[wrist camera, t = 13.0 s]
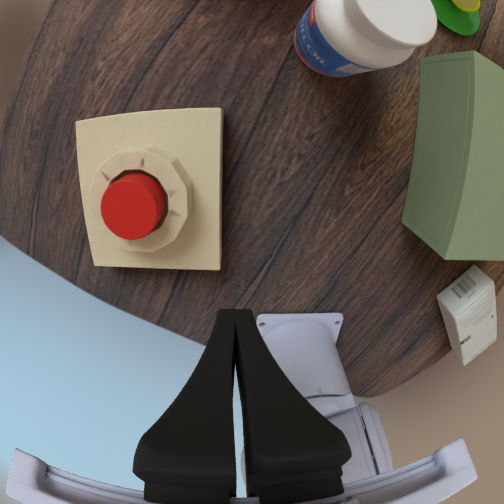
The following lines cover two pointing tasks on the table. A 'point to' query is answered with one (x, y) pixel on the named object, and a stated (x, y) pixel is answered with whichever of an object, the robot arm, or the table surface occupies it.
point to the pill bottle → (362, 34)
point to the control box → (166, 176)
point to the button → (132, 206)
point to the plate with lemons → (458, 15)
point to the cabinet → (459, 158)
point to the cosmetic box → (469, 313)
